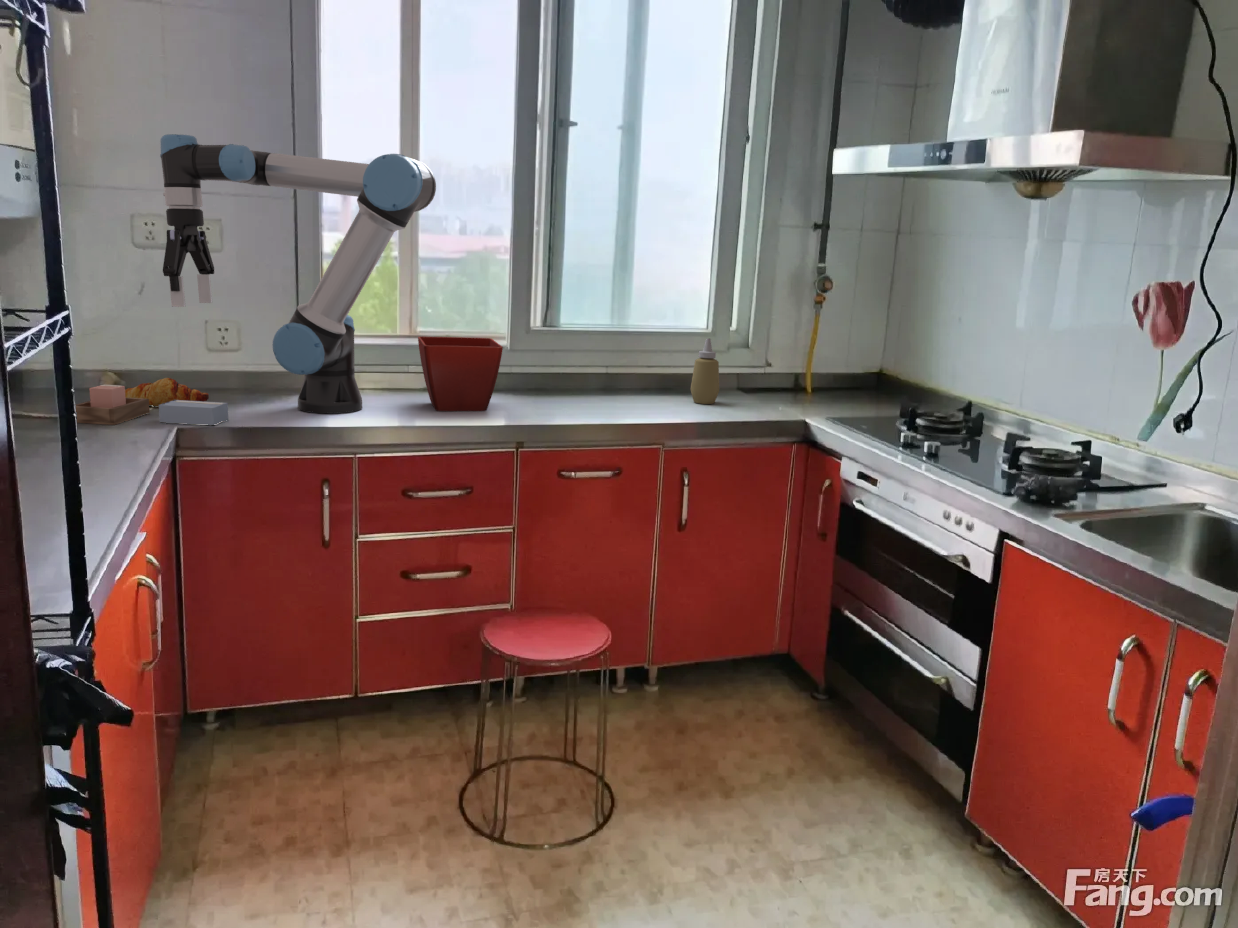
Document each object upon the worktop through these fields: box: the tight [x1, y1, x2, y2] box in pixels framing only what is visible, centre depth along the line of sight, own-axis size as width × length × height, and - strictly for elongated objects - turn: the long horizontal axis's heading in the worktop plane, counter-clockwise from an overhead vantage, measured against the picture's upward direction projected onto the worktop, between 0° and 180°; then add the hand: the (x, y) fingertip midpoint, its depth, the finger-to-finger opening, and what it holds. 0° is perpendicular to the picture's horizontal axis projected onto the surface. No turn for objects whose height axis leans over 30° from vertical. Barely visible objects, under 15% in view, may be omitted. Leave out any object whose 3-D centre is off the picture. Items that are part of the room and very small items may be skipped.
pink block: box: [89, 384, 126, 408], centre depth 213 cm, size 5×5×6 cm
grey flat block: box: [158, 400, 229, 425], centre depth 213 cm, size 12×7×4 cm, turn 86°
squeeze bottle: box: [690, 338, 720, 405], centre depth 270 cm, size 8×8×18 cm
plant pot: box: [417, 336, 504, 412], centre depth 245 cm, size 19×19×17 cm
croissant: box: [125, 377, 210, 406], centre depth 231 cm, size 21×10×8 cm, turn 95°
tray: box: [75, 398, 151, 426], centre depth 213 cm, size 10×14×3 cm
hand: (192, 304), depth 220 cm, fingers open, 13 cm apart
